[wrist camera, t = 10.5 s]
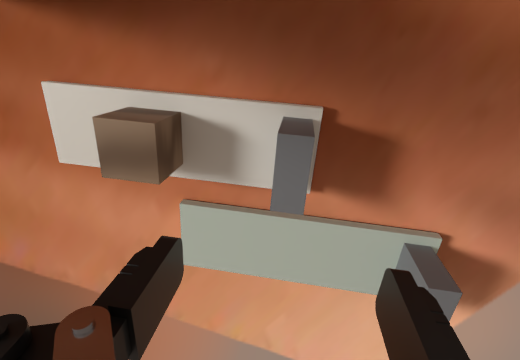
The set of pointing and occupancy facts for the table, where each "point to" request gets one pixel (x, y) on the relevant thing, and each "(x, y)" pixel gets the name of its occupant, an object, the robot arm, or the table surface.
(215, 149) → the cream strip
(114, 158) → the walnut block
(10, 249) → the table surface
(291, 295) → the table surface
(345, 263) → the sage strip
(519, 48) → the table surface
